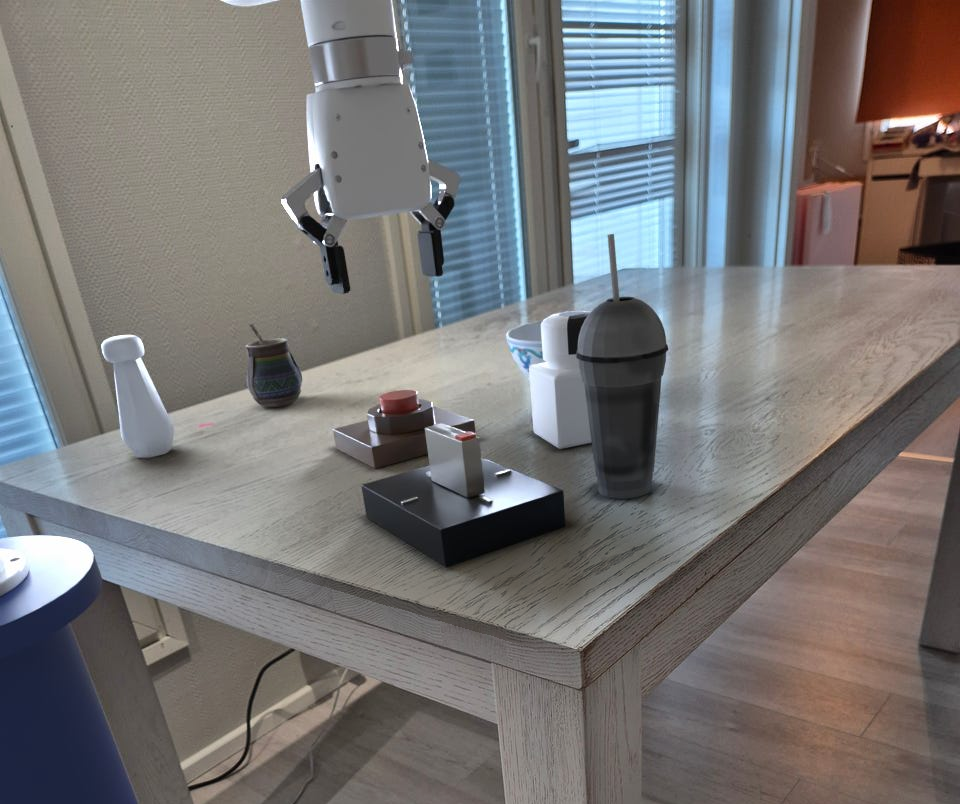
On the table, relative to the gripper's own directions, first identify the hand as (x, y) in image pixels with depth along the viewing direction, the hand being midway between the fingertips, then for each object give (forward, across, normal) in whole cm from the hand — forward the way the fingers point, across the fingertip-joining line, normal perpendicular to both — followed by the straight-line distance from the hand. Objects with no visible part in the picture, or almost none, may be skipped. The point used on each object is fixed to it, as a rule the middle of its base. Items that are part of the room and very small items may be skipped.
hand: (388, 283), depth 82 cm
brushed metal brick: (+13, +6, +21) cm, 26 cm away
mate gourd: (+17, +3, -35) cm, 39 cm away
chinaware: (+17, -25, -6) cm, 30 cm away
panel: (+16, +6, +21) cm, 27 cm away
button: (+13, -1, -3) cm, 13 cm away
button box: (+16, -1, -3) cm, 17 cm away
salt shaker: (+17, +22, -25) cm, 37 cm away
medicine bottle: (+17, -15, +8) cm, 24 cm away
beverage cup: (+17, -8, +25) cm, 31 cm away
